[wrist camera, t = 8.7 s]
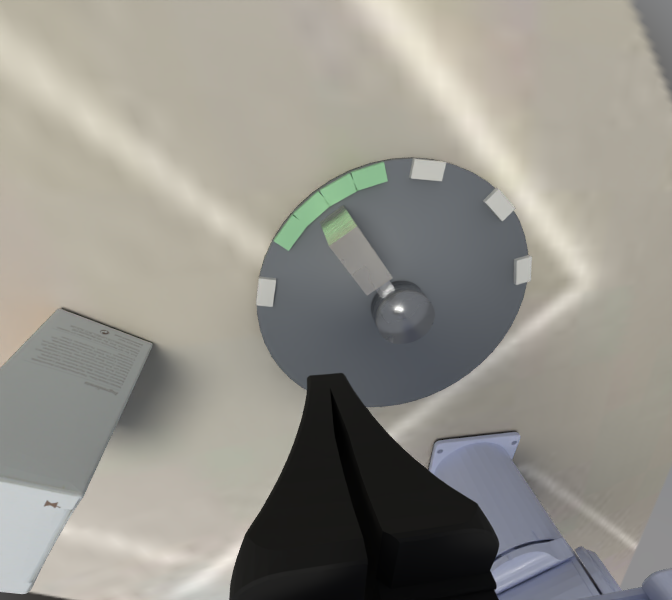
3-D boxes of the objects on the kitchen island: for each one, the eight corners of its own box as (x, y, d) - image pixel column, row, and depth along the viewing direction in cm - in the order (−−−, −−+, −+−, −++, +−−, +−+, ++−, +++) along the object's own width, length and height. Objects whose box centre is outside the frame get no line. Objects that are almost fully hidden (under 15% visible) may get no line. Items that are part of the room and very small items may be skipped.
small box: (60, 304, 21) (-95, 458, 12) (156, 342, 24) (84, 497, 14) (20, 397, 24) (-132, 582, 15) (111, 424, 26) (26, 599, 17)
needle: (433, 308, 25) (458, 341, 21) (388, 337, 25) (405, 374, 22) (358, 194, 20) (375, 213, 17) (305, 232, 21) (311, 258, 18)
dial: (489, 390, 30) (495, 398, 30) (266, 411, 28) (266, 420, 27) (558, 157, 22) (569, 159, 21) (243, 155, 19) (242, 158, 18)
